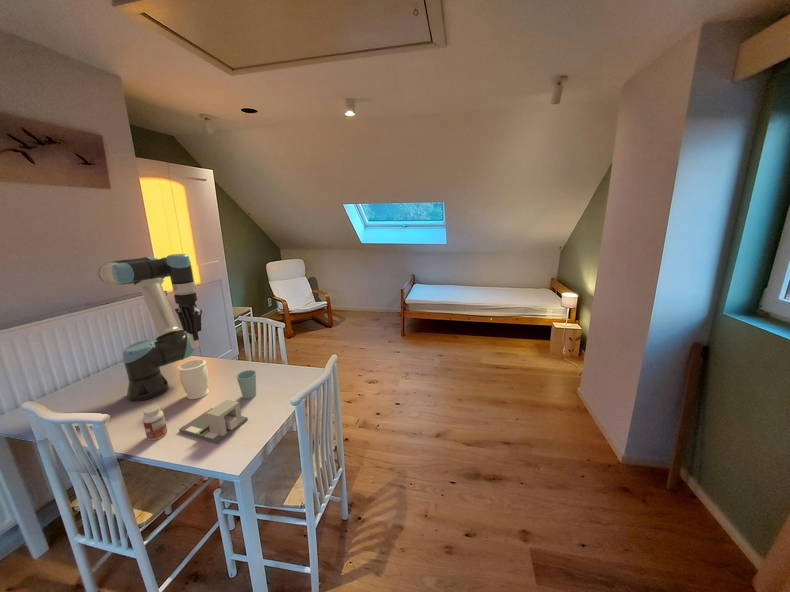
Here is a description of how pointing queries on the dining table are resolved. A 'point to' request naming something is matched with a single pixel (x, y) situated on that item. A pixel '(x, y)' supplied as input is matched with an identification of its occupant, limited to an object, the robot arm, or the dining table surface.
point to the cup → (247, 383)
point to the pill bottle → (154, 423)
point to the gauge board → (204, 425)
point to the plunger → (229, 421)
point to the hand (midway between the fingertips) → (195, 347)
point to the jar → (194, 378)
